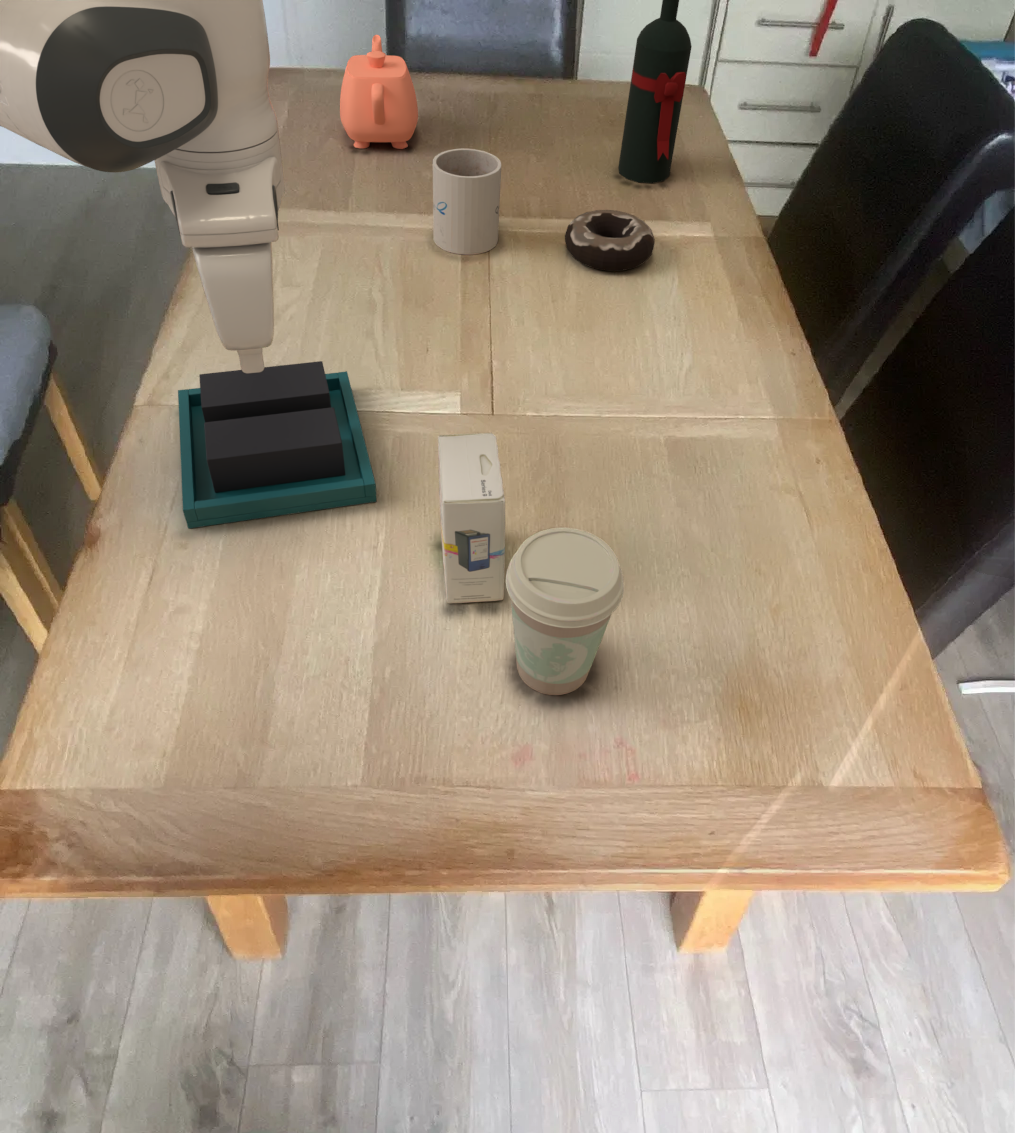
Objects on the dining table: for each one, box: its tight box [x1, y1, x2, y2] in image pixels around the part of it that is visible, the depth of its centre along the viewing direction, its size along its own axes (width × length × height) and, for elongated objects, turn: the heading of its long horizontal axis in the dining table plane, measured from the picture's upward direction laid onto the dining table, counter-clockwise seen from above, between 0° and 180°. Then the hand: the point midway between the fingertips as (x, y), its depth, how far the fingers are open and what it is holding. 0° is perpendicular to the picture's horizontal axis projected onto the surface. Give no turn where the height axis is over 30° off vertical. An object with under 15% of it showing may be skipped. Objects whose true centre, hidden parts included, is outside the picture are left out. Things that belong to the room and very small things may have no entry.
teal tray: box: [177, 370, 378, 529], centre depth 88 cm, size 17×18×2 cm
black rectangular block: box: [198, 360, 331, 422], centre depth 90 cm, size 12×6×4 cm, turn 105°
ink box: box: [437, 432, 506, 604], centre depth 75 cm, size 9×5×12 cm, turn 6°
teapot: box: [339, 34, 419, 150], centre depth 137 cm, size 20×12×12 cm, turn 6°
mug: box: [432, 148, 502, 256], centre depth 118 cm, size 12×9×10 cm
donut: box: [564, 209, 656, 272], centre depth 118 cm, size 12×12×4 cm
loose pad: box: [204, 407, 345, 493], centre depth 85 cm, size 12×6×4 cm, turn 105°
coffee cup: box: [505, 526, 625, 696], centre depth 68 cm, size 8×8×12 cm
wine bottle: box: [617, 0, 692, 184], centre depth 126 cm, size 8×10×30 cm
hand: (248, 335), depth 75 cm, fingers open, 8 cm apart
